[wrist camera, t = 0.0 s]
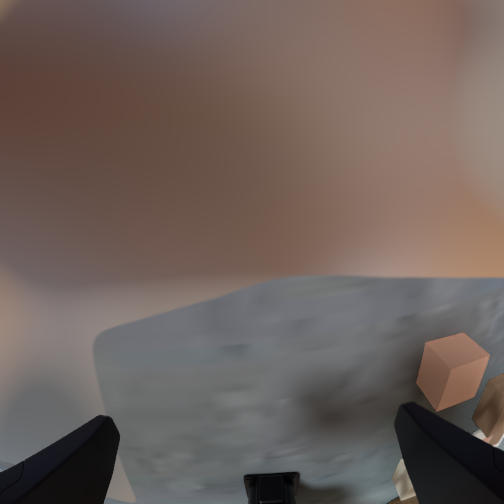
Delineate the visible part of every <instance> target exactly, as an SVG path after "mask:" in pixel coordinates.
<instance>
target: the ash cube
mask: <svg viewBox="0 0 504 504" xmlns="http://www.w3.org/2000/svg"><path fill="white" fill-rule="evenodd" d="M392 479H393V481H394V484H395V487H396V489H397V492H398V495H399V497H400V500H401V501H402V500H405V499H408V498H411V497H413V496H416V494H415V491H414V489H413V486H412V483H411V481H410V478H409V475H408V473H407V470H406V467H405V465H404V461H403V459H401V460H400V462H399V464H398V466H397V468H396V470H395V472H394V474H393V476H392Z"/></svg>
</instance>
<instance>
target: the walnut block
mask: <svg viewBox="0 0 504 504" xmlns="http://www.w3.org/2000/svg"><path fill="white" fill-rule="evenodd" d="M472 419H473V420H474V422H475V423H476V424H477V426H478V427H479V428H480V430H481V431H482V432H483V434H484V435H485V436H486V438H489V437H490V436H492V435H494V434H496V433H497V432H499V431H501V430H502V429H504V373H503V374H501V375H499V376H497V377H494V378H492V379H490V380H488V383H487V385H486V388H485V390H484V392H483V395H482V397H481V399H480V402H479V404H478V406H477V408H476V410H475V412H474V414H473V417H472Z"/></svg>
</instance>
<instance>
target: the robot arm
mask: <svg viewBox="0 0 504 504" xmlns="http://www.w3.org/2000/svg"><path fill="white" fill-rule="evenodd" d="M394 426H395V431H396V434H397V438H398V442H399V445H400V449H401V453H402V457H403V461H404V465H405V467H406V470H407V473H408V475H409V478H410V481H411V483H412V486H413V489H414V491H415V494H416V497H417V499H418V502H419V504H504V451H503V450H501V449H499V448H497V447H495V446H492V445H491V444H489V443H487V442H485V441H483V440H481V439H479V438H478V437H476V436H474V435H472V434H470V433H468V432H466V431H465V430H463V429H461V428H459V427H457V426H455V425H454V424H452V423H450V422H448V421H447V420H445V419H443V418H441V417H439V416H438V415H436V414H434V413H432V412H431V411H429V410H427V409H425V408H424V407H422V406H420V405H419V404H417V403H415V402H413V401H410V402H407V403H403V404H401V405H400V406H399V409H398V413H397V416H396V419H395V423H394ZM119 441H120V434H119V431H118V429H117V427H116V425H115V423H114V421H113V419H112V418H111V417H109V416H104V415H98V416H96V417H95V418H93V419H92V420H90V421H89V422H87V423H85V424H84V425H82V426H81V427H79V428H77V429H76V430H74V431H73V432H71V433H69V434H68V435H66V436H65V437H63V438H61V439H60V440H58V441H56V442H55V443H53V444H51V445H50V446H48V447H46V448H45V449H43V450H41V451H39V452H38V453H36V454H34V455H32V456H31V457H29V458H27V459H25V461H22V462H20V463H18V464H16V465H14V466H13V467H11V468H9V469H7V470H5V471H2V472H0V504H103V503H104V500H105V497H106V494H107V490H108V487H109V484H110V481H111V478H112V474H113V470H114V464H115V460H116V455H117V450H118V446H119ZM297 482H298V474H297V473H296V472H292V473H281V474H264V475H245V476H244V484H245V488H246V493H247V497H248V504H296V501H295V496H296V495H297Z"/></svg>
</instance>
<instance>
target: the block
mask: <svg viewBox="0 0 504 504" xmlns="http://www.w3.org/2000/svg"><path fill="white" fill-rule="evenodd" d="M388 504H419V502H418V499H417V497H416V496H413V497H411V498H408V499H405V500H402V501H401V500H400V497H398V498H396V499H395V500H393V501H391V502H389V503H388Z"/></svg>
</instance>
